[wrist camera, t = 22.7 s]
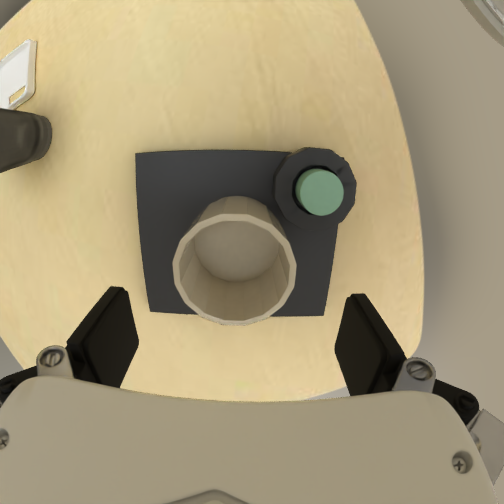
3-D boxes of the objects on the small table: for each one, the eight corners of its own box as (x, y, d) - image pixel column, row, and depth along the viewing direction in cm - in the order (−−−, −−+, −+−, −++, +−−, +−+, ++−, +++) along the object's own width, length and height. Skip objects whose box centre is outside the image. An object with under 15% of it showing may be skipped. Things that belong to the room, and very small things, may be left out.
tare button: (337, 170, 18) (345, 172, 17) (333, 211, 19) (341, 217, 18) (296, 167, 18) (301, 168, 16) (293, 209, 19) (298, 214, 18)
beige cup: (285, 197, 20) (301, 216, 15) (279, 283, 23) (289, 325, 17) (190, 195, 20) (169, 213, 14) (193, 281, 23) (178, 323, 17)
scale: (344, 152, 20) (359, 153, 17) (325, 308, 25) (333, 327, 23) (140, 147, 20) (125, 148, 17) (153, 305, 25) (144, 322, 22)
